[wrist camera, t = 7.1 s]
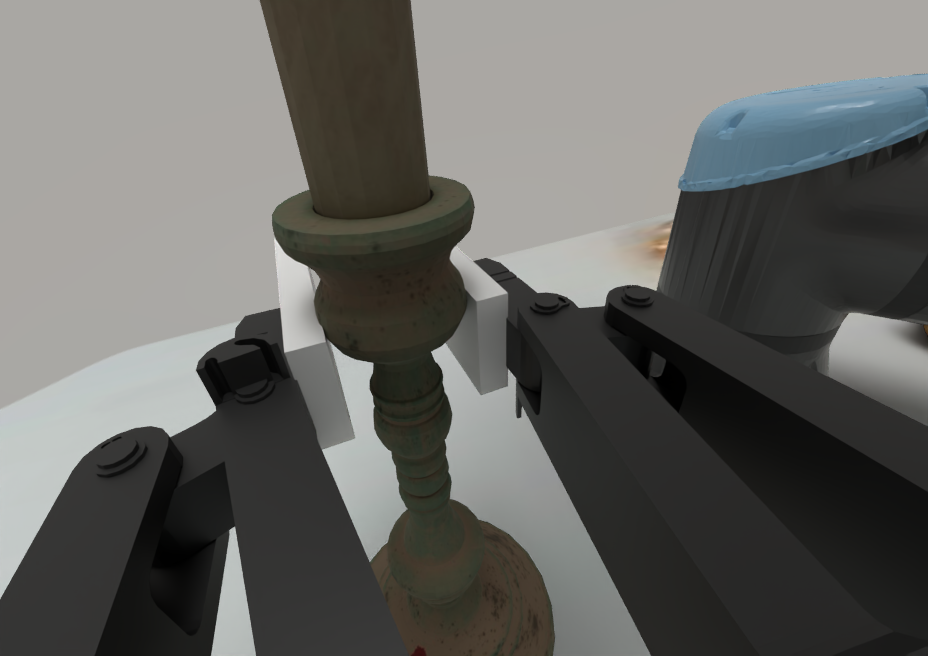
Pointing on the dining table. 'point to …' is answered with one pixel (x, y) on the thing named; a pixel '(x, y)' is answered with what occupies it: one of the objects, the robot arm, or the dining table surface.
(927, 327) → the potato
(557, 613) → the dining table surface
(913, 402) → the dining table surface
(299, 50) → the candlestick holder
